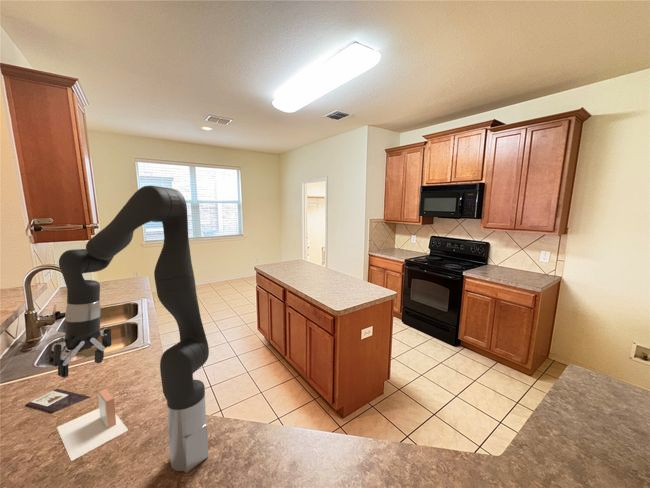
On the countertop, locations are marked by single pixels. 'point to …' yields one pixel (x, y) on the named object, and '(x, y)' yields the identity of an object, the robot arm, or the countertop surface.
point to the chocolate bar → (56, 400)
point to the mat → (88, 433)
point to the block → (107, 408)
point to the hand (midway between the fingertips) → (82, 369)
